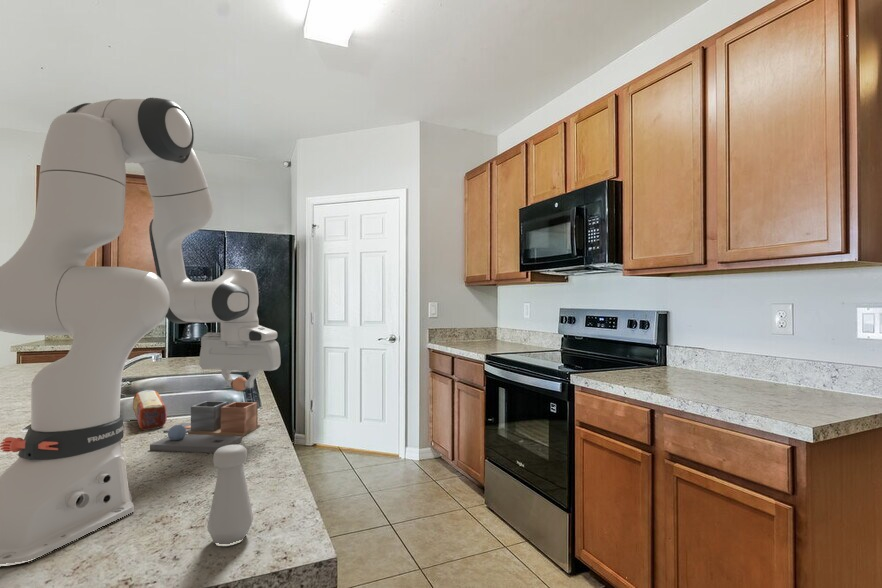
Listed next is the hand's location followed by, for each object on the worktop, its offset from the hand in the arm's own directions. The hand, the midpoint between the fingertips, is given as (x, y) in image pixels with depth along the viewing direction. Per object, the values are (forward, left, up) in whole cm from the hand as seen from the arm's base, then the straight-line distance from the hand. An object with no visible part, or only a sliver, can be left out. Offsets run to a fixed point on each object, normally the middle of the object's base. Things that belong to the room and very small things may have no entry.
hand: (239, 387), depth 115 cm
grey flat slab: (-12, +3, -11) cm, 16 cm away
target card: (0, +15, -11) cm, 19 cm away
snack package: (+7, +30, -12) cm, 33 cm away
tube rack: (0, +4, -11) cm, 12 cm away
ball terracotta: (0, 0, +1) cm, 1 cm away
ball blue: (-12, +8, -8) cm, 17 cm away
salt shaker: (-48, -27, -11) cm, 57 cm away
